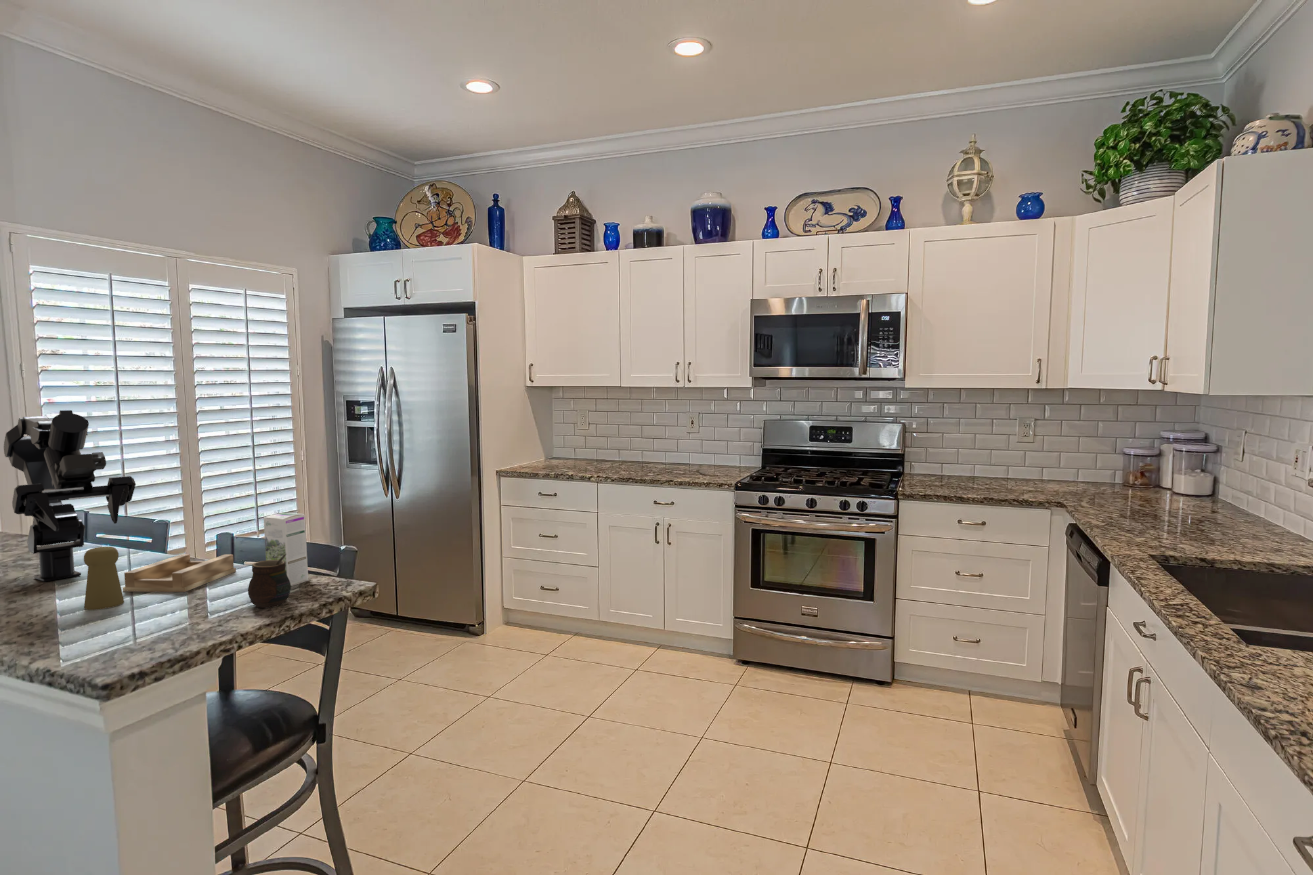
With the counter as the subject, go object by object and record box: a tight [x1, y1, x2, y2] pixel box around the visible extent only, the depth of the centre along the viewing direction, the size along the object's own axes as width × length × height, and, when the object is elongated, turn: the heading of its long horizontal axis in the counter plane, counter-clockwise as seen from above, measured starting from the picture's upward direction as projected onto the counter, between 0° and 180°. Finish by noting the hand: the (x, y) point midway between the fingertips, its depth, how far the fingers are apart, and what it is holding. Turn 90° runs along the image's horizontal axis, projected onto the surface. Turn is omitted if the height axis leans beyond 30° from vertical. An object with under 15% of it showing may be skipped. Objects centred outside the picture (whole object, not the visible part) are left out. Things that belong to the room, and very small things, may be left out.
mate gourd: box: [247, 554, 292, 609], centre depth 134 cm, size 7×8×10 cm
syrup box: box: [263, 512, 309, 587], centre depth 149 cm, size 6×6×14 cm
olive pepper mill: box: [83, 546, 125, 611], centre depth 135 cm, size 6×6×11 cm
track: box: [122, 553, 237, 593], centre depth 152 cm, size 16×13×4 cm
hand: (87, 525), depth 139 cm, fingers open, 9 cm apart
